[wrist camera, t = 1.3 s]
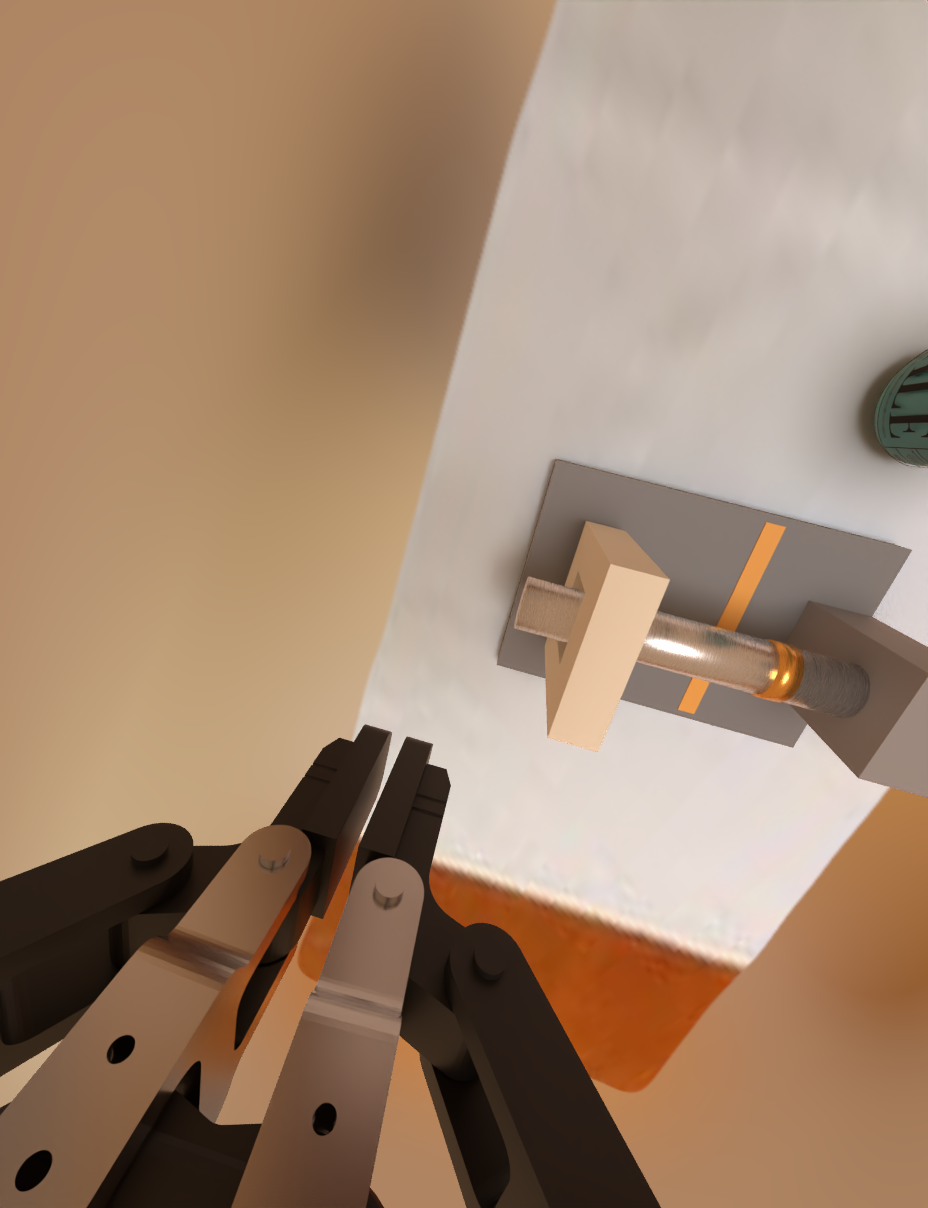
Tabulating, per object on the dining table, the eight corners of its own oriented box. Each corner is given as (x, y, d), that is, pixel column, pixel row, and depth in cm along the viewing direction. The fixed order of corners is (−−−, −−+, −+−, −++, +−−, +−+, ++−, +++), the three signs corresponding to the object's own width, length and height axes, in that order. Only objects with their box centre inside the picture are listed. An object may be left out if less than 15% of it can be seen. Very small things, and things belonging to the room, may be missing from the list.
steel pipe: (529, 568, 27) (528, 584, 24) (862, 656, 26) (903, 685, 23) (514, 617, 28) (512, 639, 25) (832, 704, 27) (868, 737, 24)
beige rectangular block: (586, 520, 29) (610, 564, 20) (625, 530, 29) (670, 579, 19) (544, 646, 33) (547, 737, 23) (579, 655, 32) (598, 752, 23)
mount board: (555, 459, 31) (565, 471, 20) (894, 544, 30) (1095, 606, 19) (498, 655, 36) (481, 748, 26) (782, 735, 35) (890, 866, 24)
